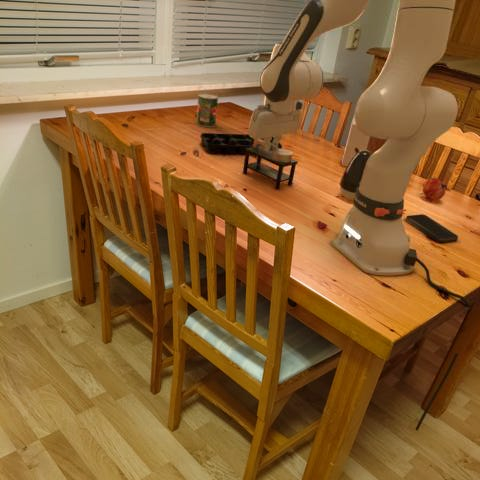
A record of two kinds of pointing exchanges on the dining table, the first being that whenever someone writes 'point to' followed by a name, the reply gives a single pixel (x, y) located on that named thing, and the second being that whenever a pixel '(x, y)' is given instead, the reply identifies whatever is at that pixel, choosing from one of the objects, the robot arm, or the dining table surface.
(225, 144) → the egg carton
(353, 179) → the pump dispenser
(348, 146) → the milk carton
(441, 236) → the phone
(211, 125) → the canned tomato
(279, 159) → the ladle
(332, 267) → the dining table surface
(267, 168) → the rack
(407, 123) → the robot arm
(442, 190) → the pomegranate
